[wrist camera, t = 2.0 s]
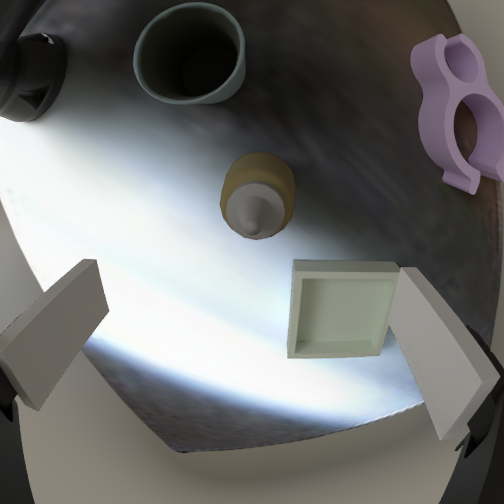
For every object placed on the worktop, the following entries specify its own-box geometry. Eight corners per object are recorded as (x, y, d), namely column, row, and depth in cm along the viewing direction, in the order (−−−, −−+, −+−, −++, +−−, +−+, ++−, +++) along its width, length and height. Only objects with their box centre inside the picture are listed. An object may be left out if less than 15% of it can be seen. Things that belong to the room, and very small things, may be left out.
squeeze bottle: (306, 182, 36) (337, 228, 19) (261, 225, 38) (254, 300, 22) (260, 136, 34) (251, 140, 17) (215, 182, 36) (170, 228, 20)
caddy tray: (286, 343, 46) (287, 358, 43) (293, 259, 40) (295, 271, 37) (374, 341, 45) (379, 355, 42) (394, 261, 39) (403, 272, 36)
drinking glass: (216, 24, 28) (193, -16, 17) (271, 75, 31) (271, 49, 20) (157, 76, 31) (112, 59, 20) (208, 128, 34) (180, 127, 23)
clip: (389, 48, 28) (411, 35, 21) (456, 43, 25) (483, 34, 19) (430, 188, 35) (456, 200, 28) (489, 169, 32) (517, 178, 26)
